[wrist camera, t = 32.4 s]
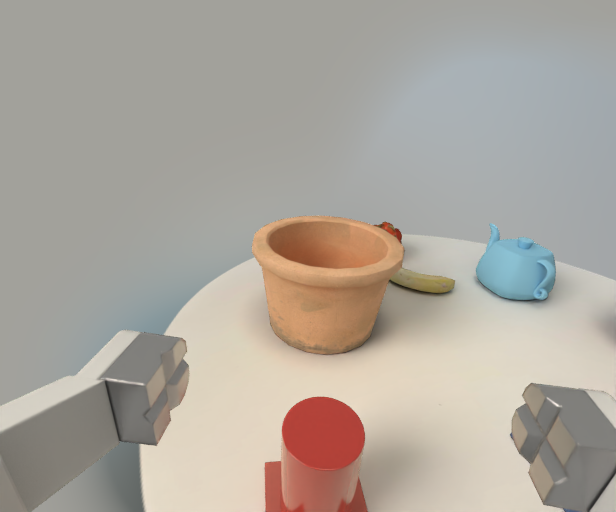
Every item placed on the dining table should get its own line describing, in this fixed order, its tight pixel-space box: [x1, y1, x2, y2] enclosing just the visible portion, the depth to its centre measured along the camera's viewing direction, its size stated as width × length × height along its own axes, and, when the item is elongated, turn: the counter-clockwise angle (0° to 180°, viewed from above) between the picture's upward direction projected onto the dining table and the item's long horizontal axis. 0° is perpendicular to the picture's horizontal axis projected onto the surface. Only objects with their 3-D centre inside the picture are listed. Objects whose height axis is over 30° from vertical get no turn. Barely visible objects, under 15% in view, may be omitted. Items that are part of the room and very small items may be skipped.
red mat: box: [265, 461, 368, 512], centre depth 31 cm, size 9×9×1 cm
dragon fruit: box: [373, 222, 402, 243], centre depth 80 cm, size 8×8×12 cm
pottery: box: [252, 216, 404, 354], centre depth 54 cm, size 22×22×14 cm
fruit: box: [390, 268, 455, 293], centre depth 69 cm, size 7×15×3 cm, turn 50°
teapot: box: [476, 223, 556, 300], centre depth 69 cm, size 13×11×18 cm
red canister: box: [279, 397, 365, 512], centre depth 29 cm, size 6×6×10 cm
